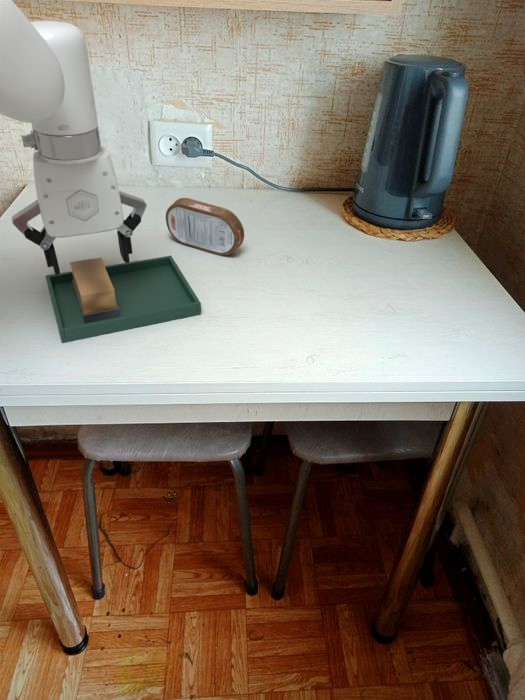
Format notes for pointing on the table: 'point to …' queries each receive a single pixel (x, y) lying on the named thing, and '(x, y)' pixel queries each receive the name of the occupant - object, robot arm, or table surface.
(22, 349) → the table surface
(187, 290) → the tray
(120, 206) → the robot arm
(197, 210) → the tin
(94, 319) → the eraser
